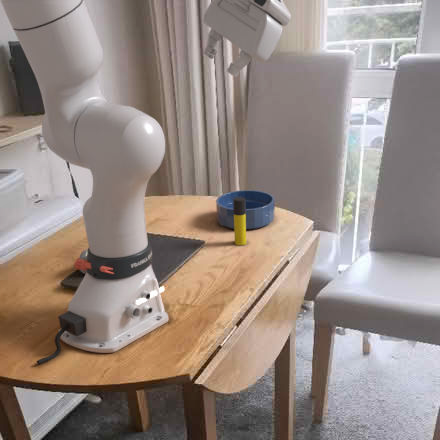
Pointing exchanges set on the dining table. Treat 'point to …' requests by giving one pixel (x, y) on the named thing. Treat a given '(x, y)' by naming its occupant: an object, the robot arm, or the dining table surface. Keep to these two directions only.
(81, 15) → the robot arm
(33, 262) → the dining table surface
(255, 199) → the bowl
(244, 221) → the highlighter
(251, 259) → the dining table surface
